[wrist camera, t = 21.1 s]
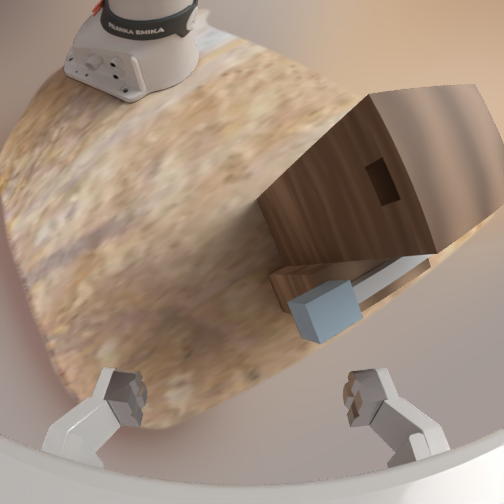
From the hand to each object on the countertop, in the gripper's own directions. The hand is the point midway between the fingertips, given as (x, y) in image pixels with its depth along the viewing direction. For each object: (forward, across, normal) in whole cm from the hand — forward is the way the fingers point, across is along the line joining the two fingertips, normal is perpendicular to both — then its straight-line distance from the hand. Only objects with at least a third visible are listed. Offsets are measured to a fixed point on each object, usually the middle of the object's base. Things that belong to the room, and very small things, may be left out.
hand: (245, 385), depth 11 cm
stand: (+32, -10, +9) cm, 35 cm away
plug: (+17, -13, +6) cm, 23 cm away
